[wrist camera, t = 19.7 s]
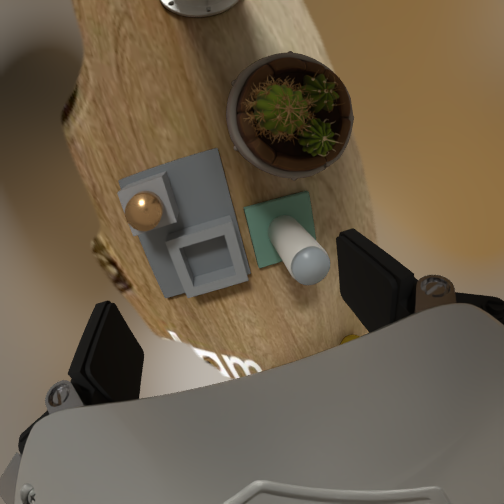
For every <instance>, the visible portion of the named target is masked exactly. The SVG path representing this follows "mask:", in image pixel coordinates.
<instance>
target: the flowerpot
mask: <svg viewBox="0 0 504 504" xmlns="http://www.w3.org/2000/svg"><path fill="white" fill-rule="evenodd" d="M232 86H233V87H232V89H231V91H230V94H229V97H228V102H227V109H226V119H227V126H228V130H229V134H230V137H231V140H232V142H233V143H234V150H235V151H239V152H240V154H241V155H242V156H243V157H244V158H245V159H246V160H248V161H249V162H250V163H252V164H253V165H254V166H256V167H257V168H259V169H261V170H263V171H265V172H267V173H270V174H272V175H276V176H279V177H284V178H291V179H292V180H293V181H295V180H296V179H297V178H304V177H309V176H312V175H314V174H316V173H318V172H320V171H322V170H324V169H325V168H326V167H328V166H330V165H331V164H332V163H334V162H335V161H336V160H338V159H339V158H340V157H341V155H342V154H343V152H344V150H345V148H346V146H347V144H348V141H349V139H350V135H351V131H352V126H353V120H354V116H353V112H352V105H351V98H350V95H349V93H348V91H347V89H346V87H345V86H344V84H343V83H342V81H341V80H340V78H339V77H338V76H337V75H336V74H335V73H334V72H333V71H331V70H330V69H329V68H328V67H327V66H325V65H324V64H322V63H321V62H319V61H317V60H315V59H313V58H311V57H308V56H305V55H302V54H298V53H293V52H292V51H289V52H288V53H279V54H275V55H271V56H268V57H265V58H262V59H260V60H258V61H256V62H254V63H253V64H251V65H250V66H248V67H247V68H246V69H245V70H243V71H242V72H241V73H240V74H239V76H238V77H237V80H233V81H232Z"/></svg>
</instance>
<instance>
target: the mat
mask: <svg viewBox="0 0 504 504" xmlns="http://www.w3.org/2000/svg"><path fill="white" fill-rule="evenodd" d="M243 208H244V212H245V216H246V220H247V224H248V228H249V232H250V236H251V240H252V244H253V248H254V252H255V256H256V260H257V264H258V267H259V268H262V267H265V266H268V265H272V264H275V263H278V262H282V259H281V257H280V256H279V254H278V252H277V251H276V249H275V247H274V246H273V244H272V243H271V241H270V239H269V237H268V227H269V225H270V223H271V222H272V221H273V220H274V219H275V218H276V217H278V216H282V215H288V216H291V217H293V218H294V219H295V220H296V221H297V222H298V223H299V224H300V225H301V226H302V227H303V228H304V229H305V230H306V231H307V232H308V233H309V234H310V235H311V236H312V237H313V238H314V239H315V240H316V236H315V228H314V222H313V215H312V208H311V202H310V196H309V192H308V191H304V192H300V193H296V194H292V195H288V196H284V197H280V198H276V199H273V200H269V201H265V202H261V203H258V204H254V205H251V206H247V207H243Z"/></svg>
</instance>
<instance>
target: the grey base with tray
mask: <svg viewBox="0 0 504 504" xmlns="http://www.w3.org/2000/svg"><path fill="white" fill-rule="evenodd" d="M119 184H120V187H121V190H120V191H119V192H118V196H119V199H120V202H121V205H122V207H123V210H124V213H125V208H126V205H127V203H128V202H129V200H130V199H131V198H132V197H133V196H134V195H135V194H136V193H138V192H141V191H151V192H154V193H155V194H157V195H158V196H159V197H160V199H161V200H162V203H163V214H162V217H161V219H160V222H159V223H158V225H157V226H156V227H155V228H153V229H151V230H149V231H138V230H136V229H134V228H133V227H131V226H130V225H129V226H130V229H131V231H132V234H133V236H136V235H138V236H139V239H140V241H141V244H142V246H143V249H144V251H145V254H146V256H147V258H148V261H149V263H150V266H151V268H152V270H153V272H154V275H155V277H156V279H157V281H158V284H159V286H160V288H161V290H162V292H163V295H164V297H165V298H168V297H172V296H175V295H179V294H182V293H186V295H187V298H190V297H194V296H197V295H201V294H204V293H208V292H211V291H215V290H218V289H221V288H225V287H228V286H232V285H235V284H239V283H242V282H245V281H249V280H248V277H247V275H248V274H251V272H250V269H249V265H248V261H247V257H246V254H245V250H244V246H243V243H242V239H241V235H240V231H239V228H238V224H237V220H236V216H235V213H234V209H233V205H232V201H231V198H230V194H229V190H228V186H227V182H226V179H225V175H224V171H223V167H222V163H221V160H220V156H219V152H218V148H215V149H211V150H207V151H204V152H200V153H197V154H194V155H190V156H187V157H184V158H180V159H177V160H174V161H171V162H168V163H165V164H162V165H159V166H156V167H153V168H150V169H147V170H145V171H142V172H139V173H136V174H134V175H131V176H128V177H126V178H123V179H120V180H119ZM128 224H129V223H128Z"/></svg>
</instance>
